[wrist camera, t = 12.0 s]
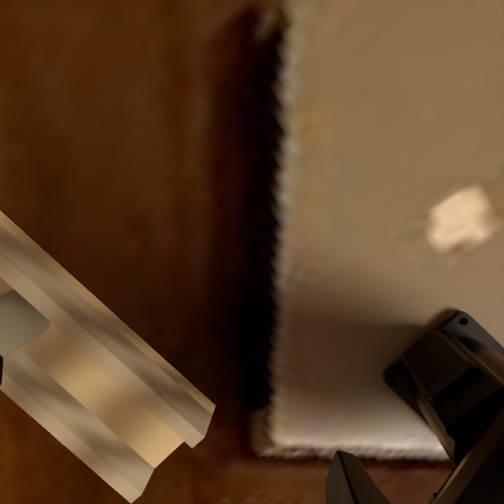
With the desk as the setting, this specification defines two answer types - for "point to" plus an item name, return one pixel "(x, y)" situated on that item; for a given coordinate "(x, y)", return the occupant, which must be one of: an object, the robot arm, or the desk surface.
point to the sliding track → (94, 375)
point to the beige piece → (19, 322)
